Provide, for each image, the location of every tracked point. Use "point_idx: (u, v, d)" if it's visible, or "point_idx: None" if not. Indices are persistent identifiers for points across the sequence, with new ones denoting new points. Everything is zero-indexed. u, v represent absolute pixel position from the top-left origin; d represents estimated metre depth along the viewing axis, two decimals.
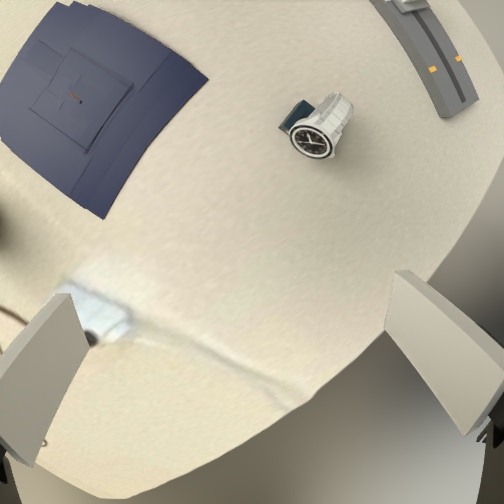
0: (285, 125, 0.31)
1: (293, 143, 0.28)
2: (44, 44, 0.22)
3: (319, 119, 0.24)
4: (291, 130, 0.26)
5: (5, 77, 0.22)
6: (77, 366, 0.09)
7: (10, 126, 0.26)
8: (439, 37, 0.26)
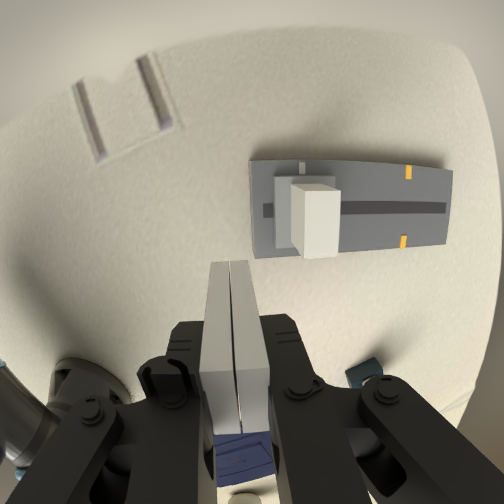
0: None
1: None
2: None
3: None
4: None
5: None
6: None
7: (218, 483, 0.48)
8: (375, 187, 0.28)
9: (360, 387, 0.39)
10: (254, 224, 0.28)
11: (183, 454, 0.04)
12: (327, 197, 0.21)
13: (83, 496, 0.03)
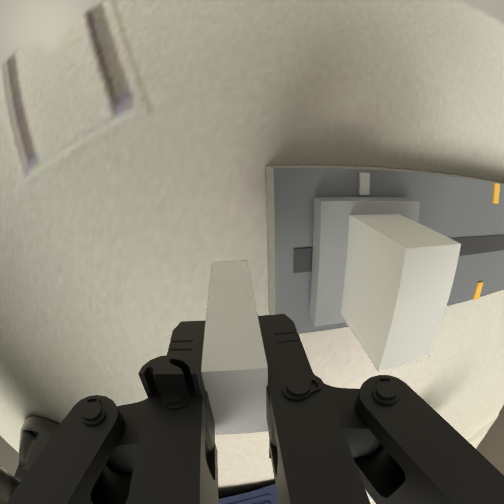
0: None
1: None
2: None
3: None
4: None
5: None
6: None
7: None
8: (461, 217, 0.15)
9: None
10: (277, 283, 0.16)
11: (185, 454, 0.04)
12: (440, 258, 0.09)
13: (85, 497, 0.03)
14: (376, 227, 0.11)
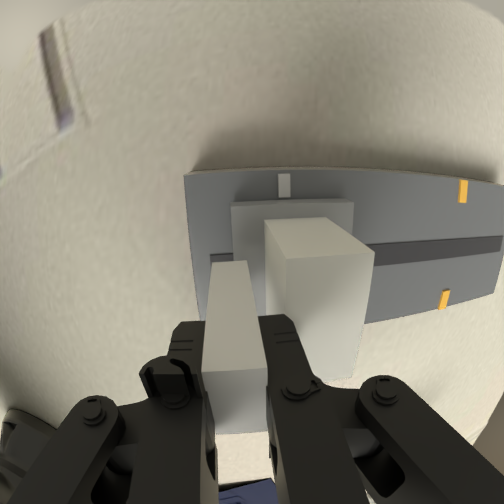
0: None
1: None
2: None
3: None
4: None
5: None
6: None
7: None
8: (415, 218, 0.15)
9: None
10: (197, 289, 0.16)
11: (185, 454, 0.04)
12: (342, 270, 0.09)
13: (85, 497, 0.03)
14: (278, 233, 0.11)
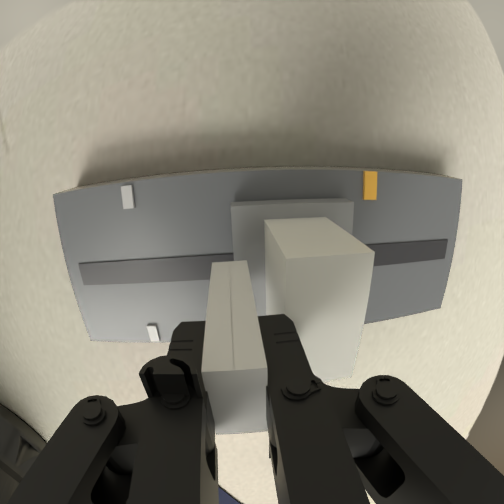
0: None
1: None
2: None
3: None
4: None
5: None
6: None
7: None
8: None
9: None
10: (76, 293, 0.15)
11: (185, 454, 0.04)
12: (342, 269, 0.09)
13: (85, 497, 0.03)
14: (278, 233, 0.11)
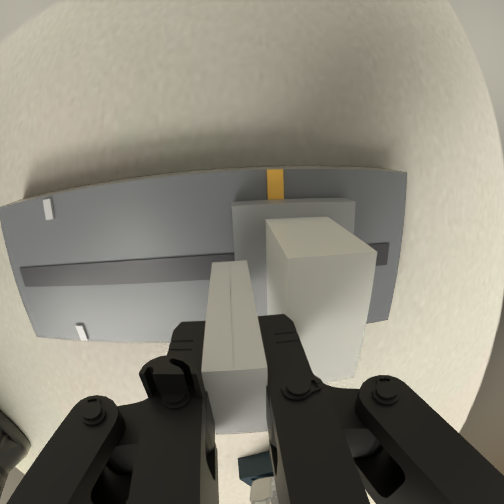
0: None
1: None
2: None
3: None
4: None
5: None
6: None
7: None
8: (189, 228, 0.14)
9: None
10: (21, 294, 0.15)
11: (185, 454, 0.04)
12: (344, 269, 0.09)
13: (85, 497, 0.03)
14: (279, 233, 0.11)
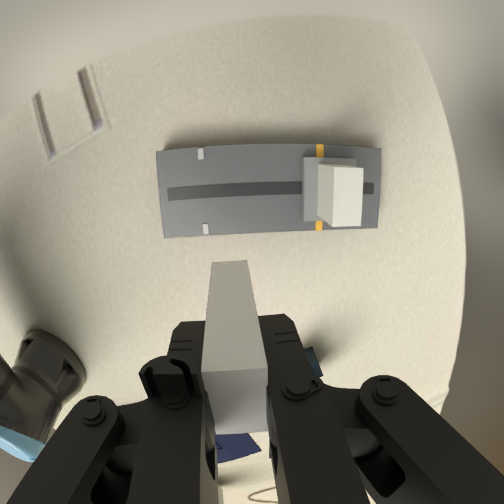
0: None
1: None
2: None
3: None
4: None
5: None
6: None
7: None
8: (280, 168, 0.30)
9: None
10: (161, 206, 0.30)
11: (185, 454, 0.04)
12: (352, 173, 0.24)
13: (85, 497, 0.03)
14: (327, 165, 0.26)
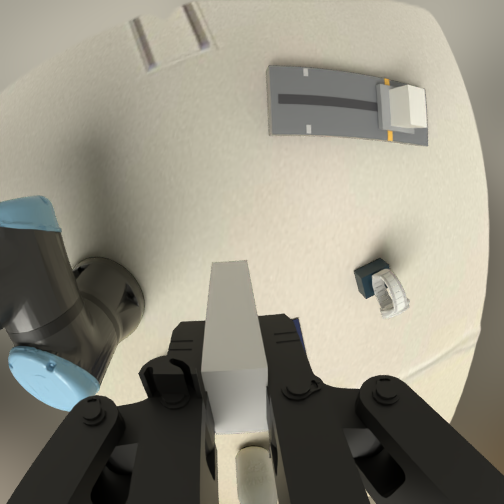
0: (367, 297, 0.45)
1: None
2: None
3: (394, 312, 0.37)
4: (383, 318, 0.40)
5: None
6: None
7: None
8: (362, 91, 0.33)
9: (370, 286, 0.44)
10: (271, 108, 0.33)
11: (185, 454, 0.04)
12: (418, 90, 0.27)
13: (84, 497, 0.03)
14: (398, 87, 0.30)
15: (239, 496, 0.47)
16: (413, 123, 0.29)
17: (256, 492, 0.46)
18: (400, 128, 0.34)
